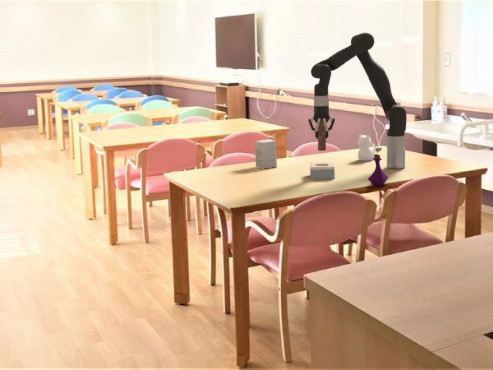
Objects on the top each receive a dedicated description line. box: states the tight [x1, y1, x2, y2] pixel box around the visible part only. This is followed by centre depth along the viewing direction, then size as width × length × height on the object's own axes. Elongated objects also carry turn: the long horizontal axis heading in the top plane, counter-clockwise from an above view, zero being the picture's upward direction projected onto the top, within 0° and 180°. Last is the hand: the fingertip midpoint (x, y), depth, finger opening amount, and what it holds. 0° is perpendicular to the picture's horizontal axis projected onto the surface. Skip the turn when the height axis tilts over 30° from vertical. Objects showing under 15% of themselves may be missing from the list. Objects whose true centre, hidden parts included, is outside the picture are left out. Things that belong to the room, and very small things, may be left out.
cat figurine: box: [357, 133, 377, 162], centre depth 408 cm, size 9×12×15 cm
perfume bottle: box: [367, 147, 389, 187], centre depth 341 cm, size 8×8×18 cm
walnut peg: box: [317, 119, 327, 152], centre depth 362 cm, size 4×4×16 cm
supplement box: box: [254, 138, 278, 169], centre depth 397 cm, size 9×9×15 cm
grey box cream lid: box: [309, 162, 336, 180], centre depth 366 cm, size 12×12×6 cm
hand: (321, 138), depth 363 cm, fingers closed on walnut peg, 4 cm apart
